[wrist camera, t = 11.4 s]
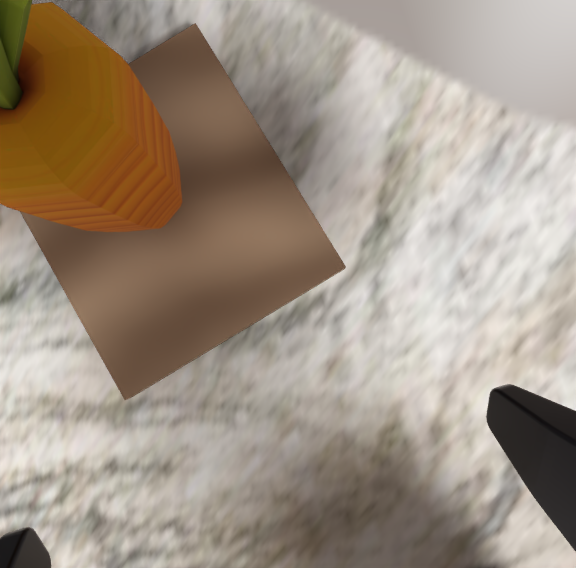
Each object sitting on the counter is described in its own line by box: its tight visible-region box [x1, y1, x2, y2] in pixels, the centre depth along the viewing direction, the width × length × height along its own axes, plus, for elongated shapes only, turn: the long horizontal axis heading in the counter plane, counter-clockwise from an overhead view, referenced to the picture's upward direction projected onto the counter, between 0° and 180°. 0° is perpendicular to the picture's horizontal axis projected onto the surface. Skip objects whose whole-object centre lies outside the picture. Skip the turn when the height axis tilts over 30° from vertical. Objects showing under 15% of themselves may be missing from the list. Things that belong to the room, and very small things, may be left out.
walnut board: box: [20, 23, 346, 400], centre depth 21 cm, size 14×12×1 cm
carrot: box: [0, 0, 182, 232], centre depth 13 cm, size 5×5×15 cm
